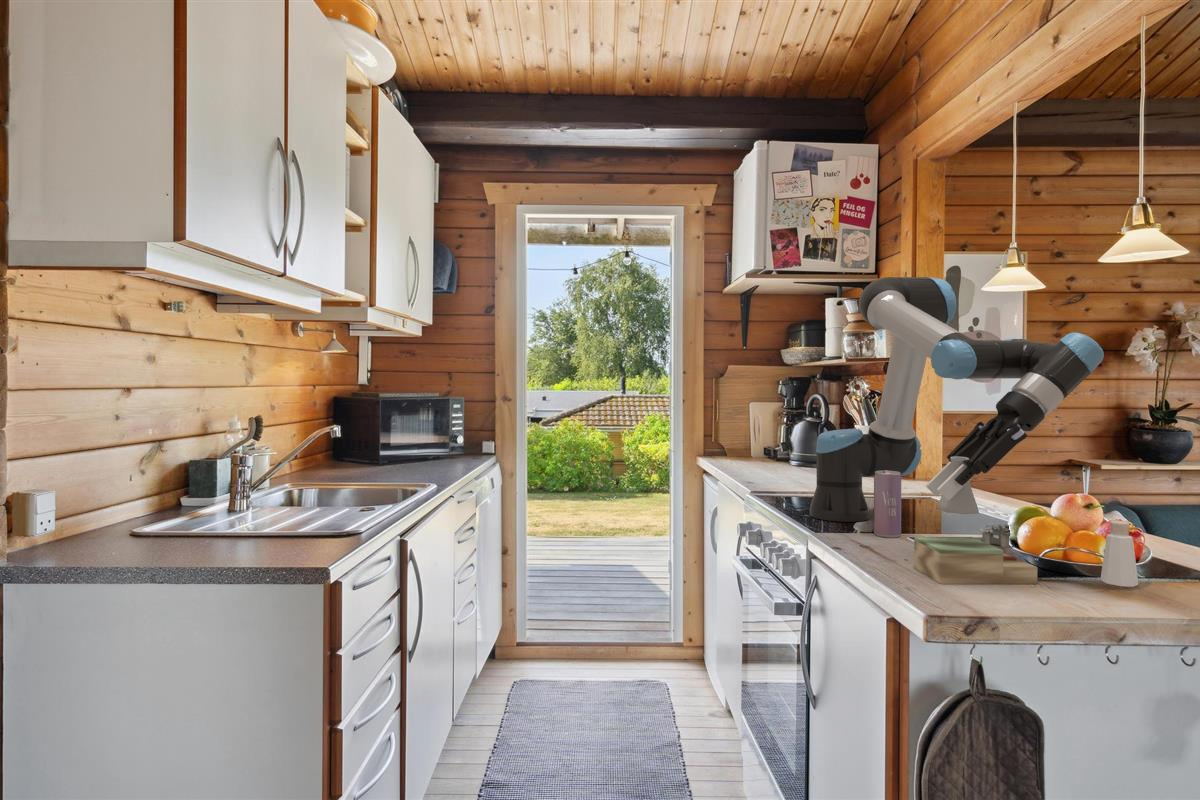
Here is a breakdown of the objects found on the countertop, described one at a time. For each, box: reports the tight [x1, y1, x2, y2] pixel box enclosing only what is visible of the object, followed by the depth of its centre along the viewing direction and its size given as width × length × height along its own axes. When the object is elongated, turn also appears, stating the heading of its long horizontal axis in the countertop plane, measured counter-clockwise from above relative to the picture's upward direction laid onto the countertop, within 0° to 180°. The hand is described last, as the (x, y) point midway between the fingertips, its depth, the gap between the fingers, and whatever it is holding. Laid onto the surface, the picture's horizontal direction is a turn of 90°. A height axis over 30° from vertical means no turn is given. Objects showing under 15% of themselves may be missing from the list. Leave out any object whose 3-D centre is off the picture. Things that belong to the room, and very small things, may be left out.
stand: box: [913, 536, 1038, 585], centre depth 129 cm, size 11×17×6 cm, turn 89°
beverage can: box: [873, 471, 902, 539], centre depth 163 cm, size 6×6×15 cm
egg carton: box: [979, 522, 1011, 548], centre depth 156 cm, size 11×8×4 cm
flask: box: [936, 457, 980, 515], centre depth 128 cm, size 7×7×10 cm
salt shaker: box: [1100, 519, 1139, 588], centre depth 124 cm, size 5×5×11 cm
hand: (937, 492), depth 129 cm, fingers closed on flask, 4 cm apart
